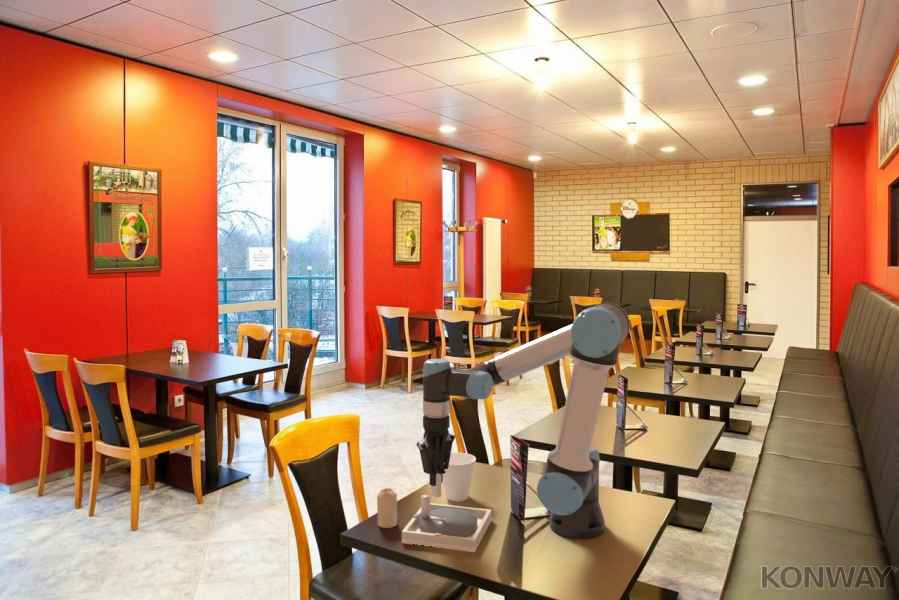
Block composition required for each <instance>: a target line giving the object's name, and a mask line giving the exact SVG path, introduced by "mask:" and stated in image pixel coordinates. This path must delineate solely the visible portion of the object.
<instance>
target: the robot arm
mask: <svg viewBox="0 0 899 600" xmlns="http://www.w3.org/2000/svg"><path fill="white" fill-rule="evenodd" d="M630 322H631V321H630V317H629V315H628V314H627V312H626V311H625V309H624V308H623V307H621V306H620V305H618V304H616V303H614V302H613V303H612V302H602V303H598V304H596V305H594V306H589V307H587V308H585V309H583V310H582V311H581V312H579V314H577V316H576V317H575V318H574V321H573V322H572V323H570V324H569V325H566V326H564V327H561V328H559V329H558V330H555V331H552V332H550V333H548V334H545V335H543V336H541V337H539V338H536V339H534V340H531V341H529V342H527V343H525V344H522V345H520V346H518V347H515V348H514V349H513V348H512V349H511V350H508V351H506V352H504V353H502V354H500V355H497V356H496V357H492V358H490V359H486V360H484V361H482V362H480V363H479V364H477V365H475V366H473V367H471V368H468V369H460V368H459V369H458V368H452V367H451V362H450V360H448V359H445V358H430V359H426V360H425V361H424V363H423V370H422V385H423V386H422V414H423V416H422V427H423V430H424V432H423V437H422V440H421V441H418V442H416V447H417V448H418V450H419V454H420V459H421V465H422V469H423V473H424V474H427V475H429V486H430V495H431V496H433V497H435V498H440V497H442V483H443V474H445V472H446V471H444V470H445V469H448V467H449V461H450V455H451V453H452V448H453V443H454V441H455V438H456V436H455V435H454V434H451V433H450V431H449V428H450V424H451V423H450V421H451V420H450V419H451V417H450V413H451V409H450V408H451V407H450V405H451V403H450V400H451V399H450V398H451V397H458V398H463V399H464V398H465V399H466V398H467V399H472V400H487V399H488V398H489V397H490V396H491V394H492V391H493V387H496V386H499V385H500V384H503V383H505V382H507V381H509V380H513V379H515V378H517V377H519V376H522V375H525V374H527V373H529V372H532V371H535V370H537V369H539V368H541V367H544V366H546V365H548V364H551V363H553V362H556V361H559V360H561V359H564V358H566V357H569V356H570V358H572V360H573V367H572V373H571V376H570V377H571V378H570V380H569V381H570V382H569V385H568V390H567V394H566V398H565V399H566V400H565V404H564V408H563V413H562V418H561V422H560V427H559V431H558V435H557V440H556V443H555V444H556V446H555V449H553V450H551V451H549V452H548V454H547V458H546V463H545V467H544V472H543V475H541V477H540V478H539V480H538V482H537V486H536V493H537V494H536V495H537V498H538V500H539V502H540V503H541V504H542V506H543V507H544V508H545V509H546V510H547V511H549V512H550V516H549V528H550V529H551V530H552V531H553V532H554V533H556V534H557V535H560V536H562V537H567V538H571V539H591V538H596V537H598V536H600V535H602V534H603V533H604V532H605V528H606V527H605V526H606V525H605V524H606V522H605V521H606V520H605V518H604V514H603V511H602V508H601V505H600V502H599V500H600V499H599V495H600V462H601V459H600V452H599V450H598V449H597V448H595V447H593V446H592V443H593V440H594V435H595V432H596V427H597V422H598V419H599V413H600V410H601V405H602V400H603V397H604V393H605V392H604V391H605V388H606V384H607V379H608V374H609V371H610V370H611V369H612V368H613V367H615V366H616V365H617V363H618V360H619V355H620V350H621V347H622V346H621V345H622V343H623V342H624V341H625V340H626V339H627V337H628V335H629V333H630V330H631V323H630ZM444 463H445V464H444Z"/></svg>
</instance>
